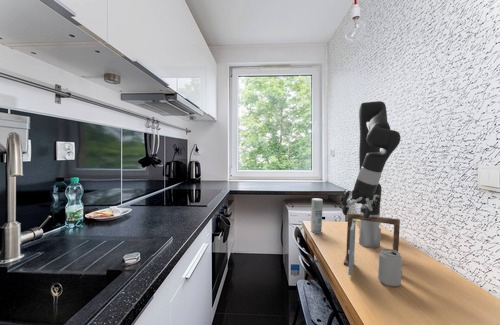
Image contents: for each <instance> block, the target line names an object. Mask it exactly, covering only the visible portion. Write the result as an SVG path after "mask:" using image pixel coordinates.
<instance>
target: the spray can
mask: <svg viewBox="0 0 500 325" xmlns="http://www.w3.org/2000/svg"><path fill="white" fill-rule="evenodd" d="M323 201H324V200H323V199H322V198H319V197H318V198H316V197H315V198H311V212H310V213H311V215H310V216H311V218H310V220H311V221H310V231H311V232H312V233H315V234H320V233H322V231H323V230H322V228H323V227H322V225H323V208H324V207H323V204H324V203H323Z"/></svg>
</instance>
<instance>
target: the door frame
mask: <svg viewBox="0 0 500 325" xmlns="http://www.w3.org/2000/svg"><path fill="white" fill-rule="evenodd" d="M353 219H358V220H365V221H372V222H379V223H381V224H387V225H393V237H392V238H393V240H392V250H396V251H398V252H399V246H400V245H399V244H400V243H399V242H400V227H401V226H400V225H401V220H400V219H399V218H392V217H386V216H385V217H384V216H380V217H378V216H371V215H370V216H369V217H368V218H367V219H366V218H364V217H363V214H360V213H355V212H348V213H347V228H346V229H347V231H346V232H347V233H346V250H345V254H346V255H345V257H344V260H343V265H344V266H348V267H349V254H348V250H349V248H350V229H351V226H352V223H353Z"/></svg>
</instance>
